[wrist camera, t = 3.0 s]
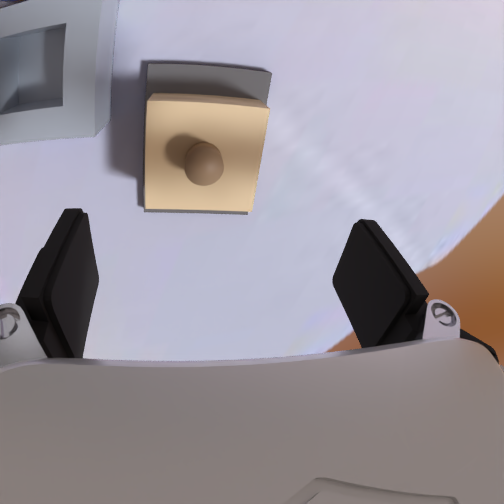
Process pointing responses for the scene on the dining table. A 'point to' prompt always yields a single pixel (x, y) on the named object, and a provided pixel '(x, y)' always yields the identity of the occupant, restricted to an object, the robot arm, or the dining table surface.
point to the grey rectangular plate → (203, 83)
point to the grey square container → (56, 69)
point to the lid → (203, 151)
